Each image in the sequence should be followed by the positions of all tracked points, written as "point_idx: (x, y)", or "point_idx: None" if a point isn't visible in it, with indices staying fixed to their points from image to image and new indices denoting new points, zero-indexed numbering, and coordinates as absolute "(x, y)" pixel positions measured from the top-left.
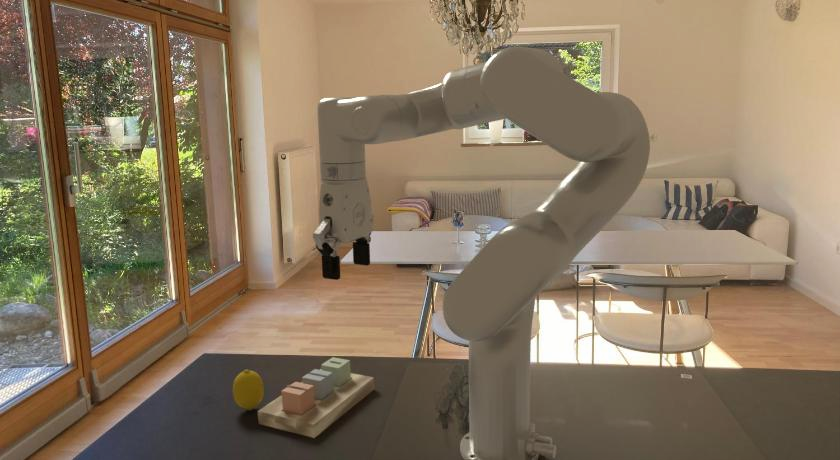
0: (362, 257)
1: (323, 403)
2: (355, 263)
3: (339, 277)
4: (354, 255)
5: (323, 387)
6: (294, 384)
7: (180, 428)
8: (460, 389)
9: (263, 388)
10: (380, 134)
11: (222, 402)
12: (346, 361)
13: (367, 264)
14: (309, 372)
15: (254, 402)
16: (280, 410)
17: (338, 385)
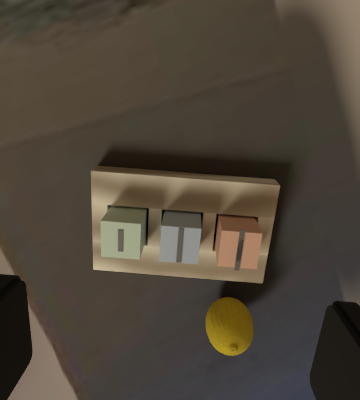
0: (2, 338)
1: (210, 205)
2: (31, 347)
3: (348, 304)
4: (4, 393)
5: (192, 221)
6: (227, 262)
7: (295, 350)
8: (27, 4)
9: (219, 307)
10: None
11: None
12: (107, 224)
13: (20, 280)
14: (177, 262)
15: (239, 301)
16: None
17: (145, 213)
